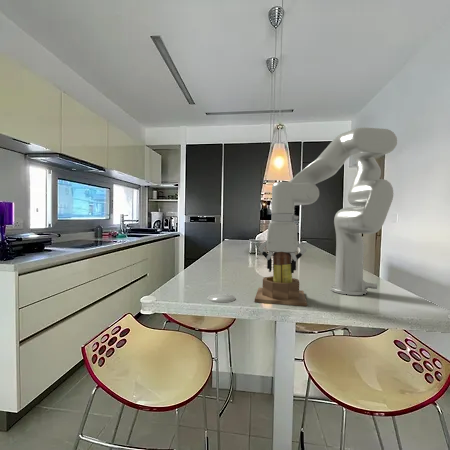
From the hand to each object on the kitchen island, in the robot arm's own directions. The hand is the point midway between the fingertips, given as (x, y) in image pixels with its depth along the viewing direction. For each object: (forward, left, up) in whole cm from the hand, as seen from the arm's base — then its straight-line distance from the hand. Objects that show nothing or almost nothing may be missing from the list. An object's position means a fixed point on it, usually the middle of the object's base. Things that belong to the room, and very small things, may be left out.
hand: (281, 271), depth 97 cm
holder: (0, 0, -9) cm, 9 cm away
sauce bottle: (-1, 0, -8) cm, 8 cm away
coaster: (+19, +7, -9) cm, 22 cm away
